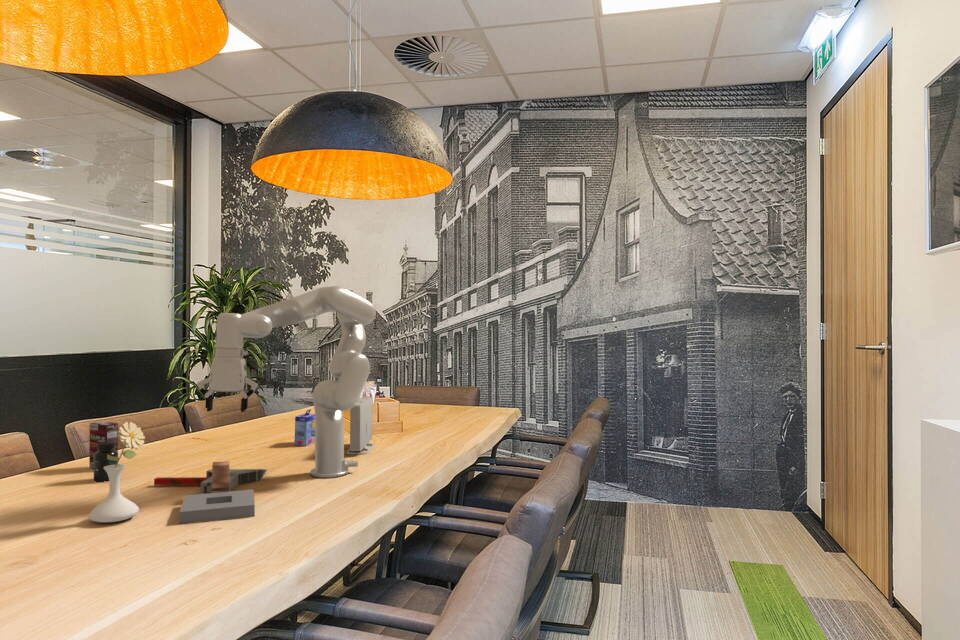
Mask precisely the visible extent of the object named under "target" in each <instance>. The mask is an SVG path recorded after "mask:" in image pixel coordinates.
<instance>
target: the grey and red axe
mask: <svg viewBox="0 0 960 640" xmlns="http://www.w3.org/2000/svg"><path fill="white" fill-rule="evenodd" d="M267 471H268V469H266V468H264V469H262V468H229V483H230V487H229V492H230V490H231V491H233V490H234V489H235V488H236V487H237V485H238V486H240V485H245V484H250V482H251V483H256V482H259V481H260V480H262V479H261V478H263V477H264V475H265V474H266V472H267ZM205 476H206V477H196V476H195V477H189V476H188V477H186V476H185V477H177V476H176V477H172V476H171V477H169V476H168V477H157V476H156V478H153V480H154V481H153V485H154V486H200V494H207V493H212V468H211V469H208V470H206V475H205ZM255 481H256V482H255ZM239 484H240V485H239Z"/></svg>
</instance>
